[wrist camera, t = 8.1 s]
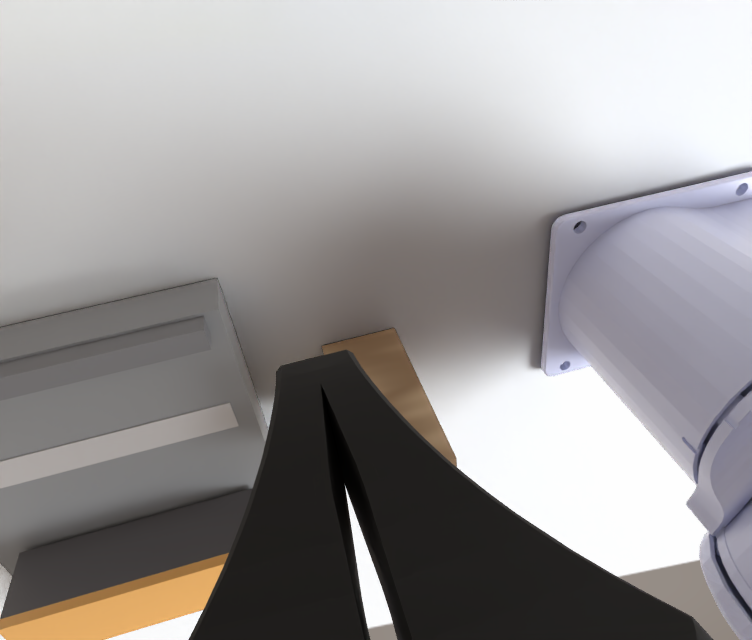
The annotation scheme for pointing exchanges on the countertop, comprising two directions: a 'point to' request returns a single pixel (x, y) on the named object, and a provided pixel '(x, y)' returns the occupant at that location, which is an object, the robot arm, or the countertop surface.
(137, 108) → the countertop surface
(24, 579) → the breaker toggle
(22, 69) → the countertop surface
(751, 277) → the robot arm
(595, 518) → the countertop surface
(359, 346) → the oak post
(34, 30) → the countertop surface
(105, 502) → the box
